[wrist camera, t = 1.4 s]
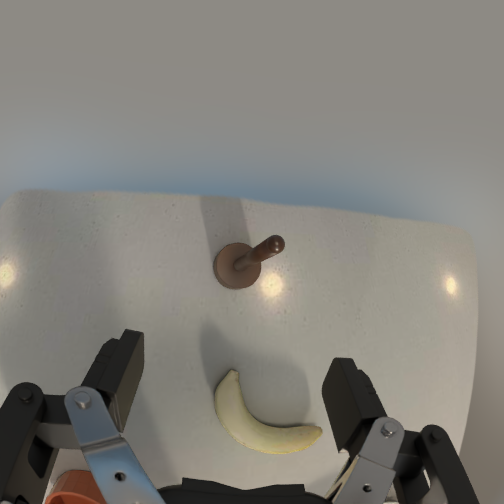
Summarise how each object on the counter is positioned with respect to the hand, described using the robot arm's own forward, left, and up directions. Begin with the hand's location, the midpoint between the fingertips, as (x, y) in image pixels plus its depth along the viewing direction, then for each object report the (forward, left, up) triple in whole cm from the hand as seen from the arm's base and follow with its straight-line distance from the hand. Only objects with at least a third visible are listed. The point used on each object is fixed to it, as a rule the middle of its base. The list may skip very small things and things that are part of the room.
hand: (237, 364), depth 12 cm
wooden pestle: (+1, +8, -24) cm, 25 cm away
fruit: (+13, -7, -24) cm, 28 cm away
